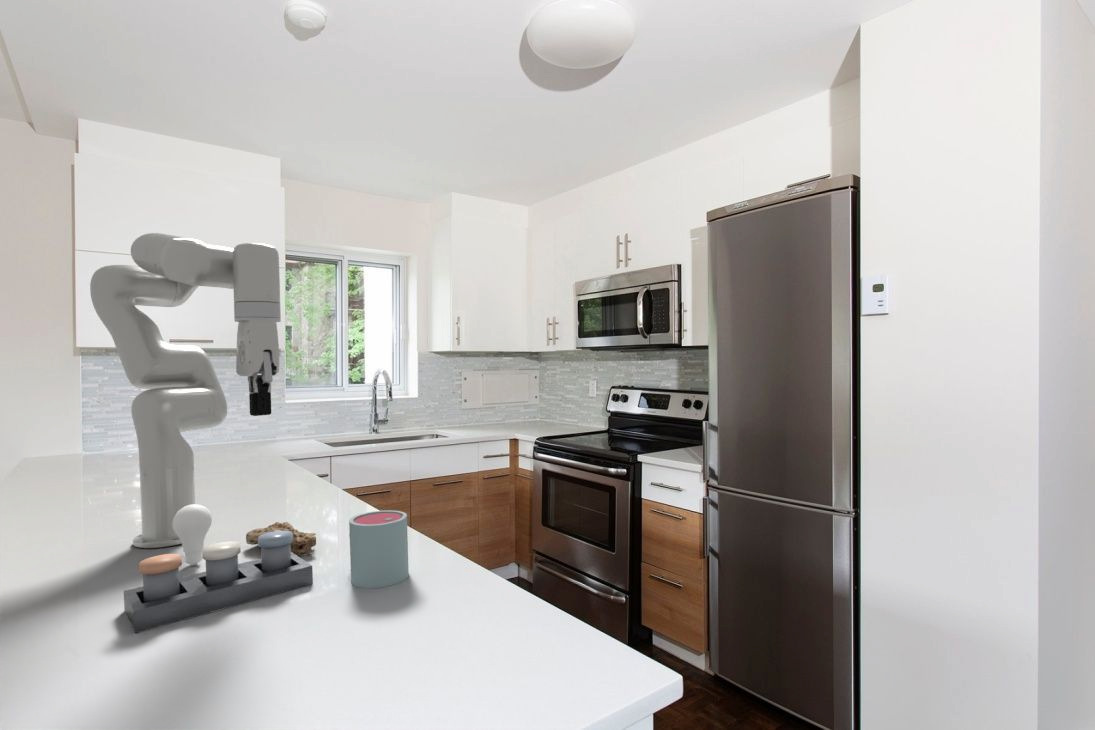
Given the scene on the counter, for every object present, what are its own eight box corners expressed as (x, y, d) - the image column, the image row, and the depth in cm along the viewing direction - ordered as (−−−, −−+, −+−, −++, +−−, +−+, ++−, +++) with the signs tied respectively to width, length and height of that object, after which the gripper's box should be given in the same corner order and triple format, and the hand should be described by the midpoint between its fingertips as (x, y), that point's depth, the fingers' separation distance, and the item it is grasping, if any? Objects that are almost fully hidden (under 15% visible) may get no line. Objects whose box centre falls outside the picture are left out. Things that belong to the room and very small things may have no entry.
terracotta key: (138, 601, 87) (136, 559, 87) (179, 591, 90) (177, 551, 90) (143, 612, 83) (142, 568, 83) (186, 601, 86) (185, 559, 86)
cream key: (199, 586, 92) (198, 547, 92) (236, 577, 96) (235, 539, 95) (208, 596, 88) (206, 554, 88) (245, 586, 92) (244, 546, 92)
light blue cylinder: (254, 572, 97) (253, 535, 97) (287, 564, 101) (286, 528, 101) (264, 581, 94) (263, 542, 93) (298, 572, 97) (297, 535, 97)
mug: (419, 575, 99) (417, 516, 99) (369, 592, 92) (367, 529, 92) (375, 558, 108) (374, 503, 108) (327, 572, 101) (325, 514, 101)
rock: (342, 529, 117) (304, 533, 108) (338, 556, 116) (300, 561, 107) (280, 518, 124) (239, 520, 115) (275, 542, 123) (234, 547, 114)
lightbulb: (195, 572, 103) (193, 509, 103) (165, 570, 104) (163, 508, 104) (221, 560, 109) (219, 501, 109) (192, 558, 110) (190, 500, 110)
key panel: (124, 610, 88) (123, 590, 88) (291, 568, 104) (290, 551, 104) (134, 633, 80) (134, 611, 80) (312, 583, 96) (312, 565, 96)
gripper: (224, 315, 110) (227, 414, 110) (247, 310, 98) (250, 419, 99) (266, 316, 115) (269, 411, 115) (293, 311, 103) (296, 416, 104)
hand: (260, 414), depth 107 cm, fingers closed
